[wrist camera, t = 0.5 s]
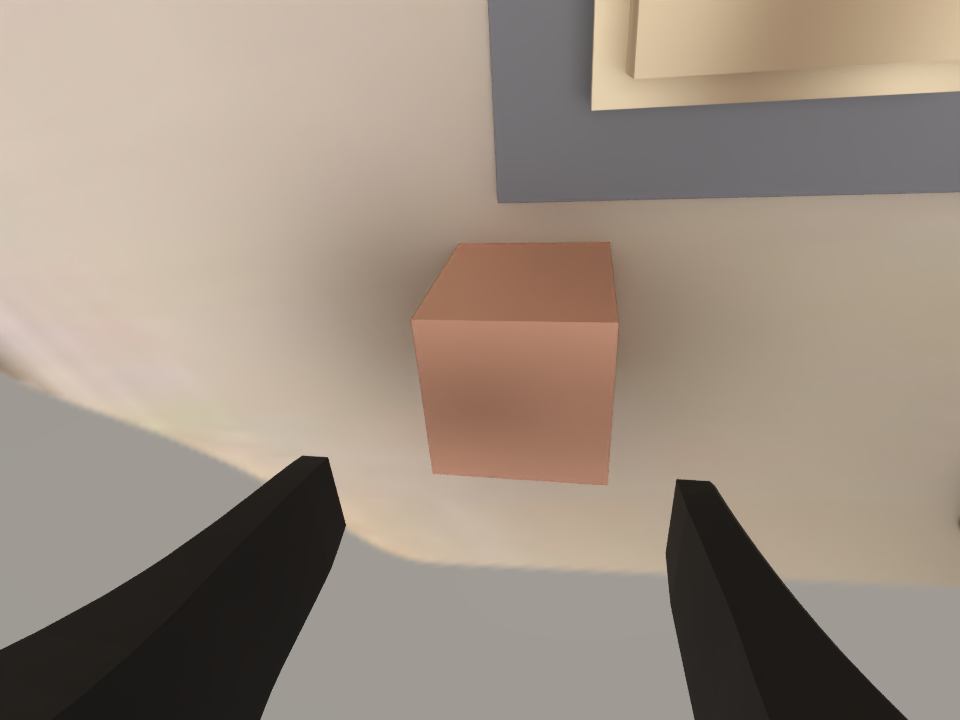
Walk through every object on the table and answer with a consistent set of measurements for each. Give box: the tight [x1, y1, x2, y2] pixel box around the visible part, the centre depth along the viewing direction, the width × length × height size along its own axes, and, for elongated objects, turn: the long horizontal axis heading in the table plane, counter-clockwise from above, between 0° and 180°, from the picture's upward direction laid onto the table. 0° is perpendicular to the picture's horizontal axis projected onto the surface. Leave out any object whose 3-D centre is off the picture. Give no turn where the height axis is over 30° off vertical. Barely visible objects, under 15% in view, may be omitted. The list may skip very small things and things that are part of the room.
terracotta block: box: [411, 242, 619, 485], centre depth 17 cm, size 5×5×6 cm
